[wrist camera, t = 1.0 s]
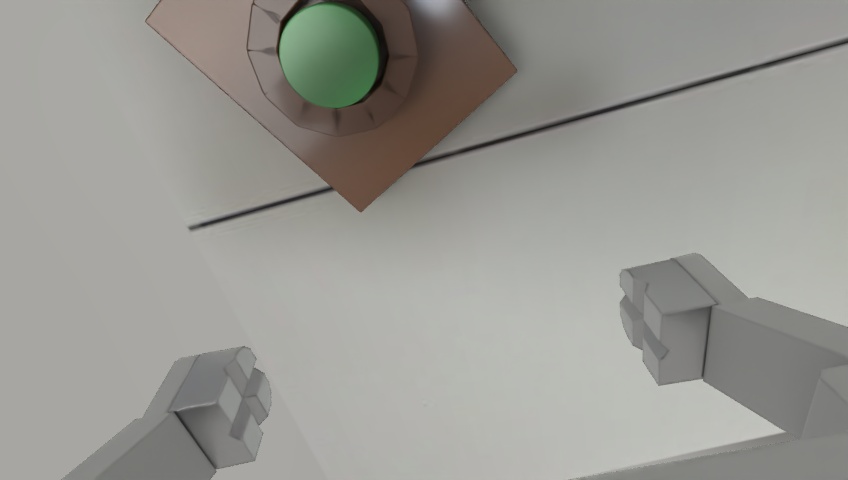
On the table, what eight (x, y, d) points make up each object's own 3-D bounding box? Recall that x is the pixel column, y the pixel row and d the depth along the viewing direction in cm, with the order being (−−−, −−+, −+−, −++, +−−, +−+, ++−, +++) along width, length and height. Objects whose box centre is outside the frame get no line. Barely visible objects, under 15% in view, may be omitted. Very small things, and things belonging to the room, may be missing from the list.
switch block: (167, 17, 21) (121, 25, 17) (316, -181, 18) (296, -219, 14) (363, 195, 26) (357, 230, 22) (508, 62, 22) (528, 79, 19)
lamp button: (269, 49, 18) (257, 56, 17) (331, -22, 17) (324, -22, 16) (338, 116, 20) (333, 128, 18) (399, 54, 19) (399, 61, 17)
